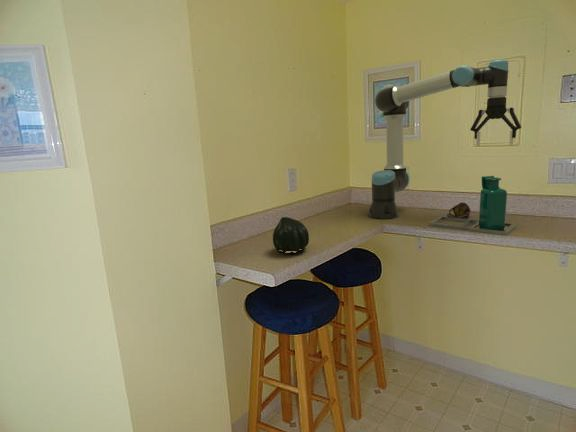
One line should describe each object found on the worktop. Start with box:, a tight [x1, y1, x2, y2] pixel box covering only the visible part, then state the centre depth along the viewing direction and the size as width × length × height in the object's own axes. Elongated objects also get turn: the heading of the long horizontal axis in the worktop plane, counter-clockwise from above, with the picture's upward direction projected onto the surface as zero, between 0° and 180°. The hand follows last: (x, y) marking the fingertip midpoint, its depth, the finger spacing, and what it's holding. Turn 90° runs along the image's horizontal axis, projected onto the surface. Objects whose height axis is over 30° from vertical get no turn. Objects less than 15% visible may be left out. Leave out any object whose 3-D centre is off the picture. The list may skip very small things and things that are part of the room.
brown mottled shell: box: [446, 202, 471, 218], centre depth 192 cm, size 7×13×10 cm
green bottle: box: [478, 175, 508, 230], centre depth 168 cm, size 10×8×22 cm
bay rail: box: [428, 215, 516, 236], centre depth 175 cm, size 32×15×1 cm, turn 49°
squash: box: [272, 216, 310, 252], centre depth 155 cm, size 14×15×15 cm
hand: (494, 146), depth 176 cm, fingers open, 13 cm apart
